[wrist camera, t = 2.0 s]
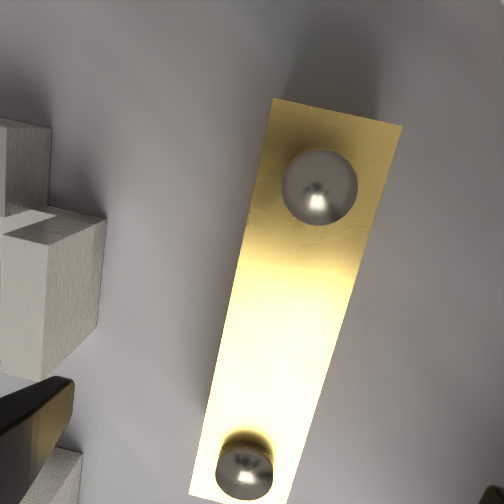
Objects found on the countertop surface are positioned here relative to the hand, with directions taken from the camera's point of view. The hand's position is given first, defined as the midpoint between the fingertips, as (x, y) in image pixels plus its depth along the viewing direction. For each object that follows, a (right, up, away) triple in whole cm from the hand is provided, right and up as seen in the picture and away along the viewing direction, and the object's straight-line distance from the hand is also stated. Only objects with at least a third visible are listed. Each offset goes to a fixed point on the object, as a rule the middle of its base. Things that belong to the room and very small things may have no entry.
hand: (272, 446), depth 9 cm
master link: (+1, +2, +8) cm, 8 cm away
